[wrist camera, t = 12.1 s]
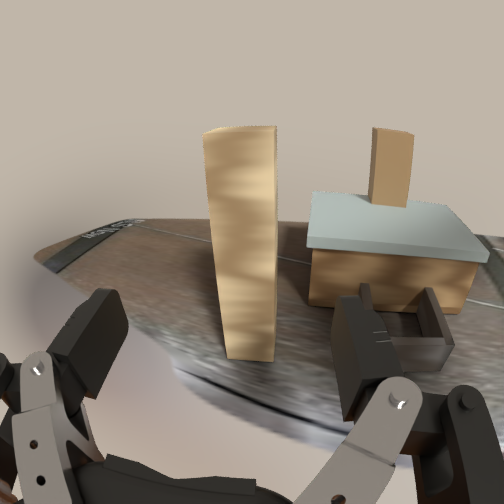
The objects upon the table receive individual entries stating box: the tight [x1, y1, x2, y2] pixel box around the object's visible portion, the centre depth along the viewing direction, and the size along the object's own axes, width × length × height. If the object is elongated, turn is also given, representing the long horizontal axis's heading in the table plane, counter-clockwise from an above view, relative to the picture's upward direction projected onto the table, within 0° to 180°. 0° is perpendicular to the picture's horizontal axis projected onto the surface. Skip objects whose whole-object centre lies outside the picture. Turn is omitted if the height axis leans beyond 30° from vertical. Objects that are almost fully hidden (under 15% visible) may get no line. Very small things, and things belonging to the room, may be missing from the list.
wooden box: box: [308, 248, 480, 372], centre depth 25 cm, size 16×18×6 cm
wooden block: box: [203, 126, 278, 362], centre depth 19 cm, size 4×4×16 cm
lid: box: [307, 127, 490, 263], centre depth 24 cm, size 17×12×9 cm
